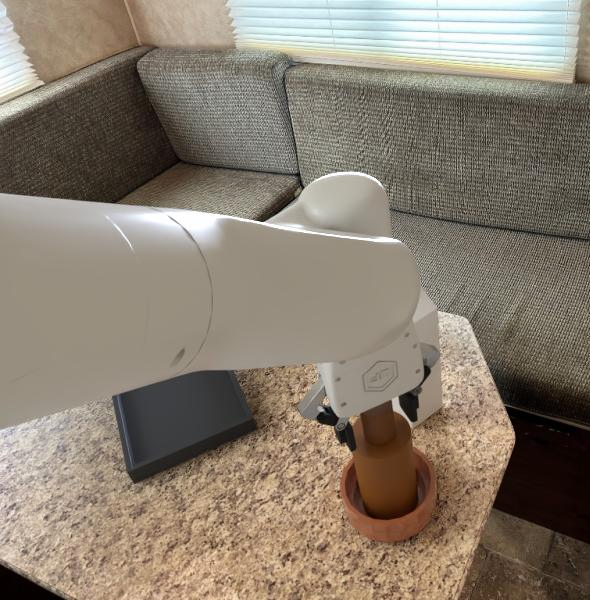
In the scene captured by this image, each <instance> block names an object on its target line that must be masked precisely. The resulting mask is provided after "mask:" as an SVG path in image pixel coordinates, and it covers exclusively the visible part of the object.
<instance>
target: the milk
mask: <svg viewBox="0 0 590 600" xmlns="http://www.w3.org/2000/svg"><path fill="white" fill-rule="evenodd" d="M413 321H414V325H415V328H416V332H417V336H418V340H419V342H422V343H426V344H430V345H433V346H435V347H436V348H437V349H438V351H439V352H440V353H441V348H440V346H441V345H440V330H439V329H440V328H439V311H438V306H437V304H435V303H434V302H433V300H432V299H431V297H430V296H429V295H428V294H427V293H426V291H425V290H424V289H423V287H422V280H421V279H420V296H419V301H418V305H417V308H416V311H415V313H414V316H413ZM421 388H422V392H421V393H420V394H419V395H418V399H419V408H418V409H417V417H418V421H416V422H414V423H413V422H411V421H410V420H409V418H408V417H407V416H406V414H405V413H404V411H403V410H402V409H401V407H400V405H399V397H395V398H393V399H391V400H392V406H393V411H395V412H397V413H399V414H401V415H402V416H403V417H405V418H406V420H407V421H408V423H409V425H410V427H411V430H414V429H415V428H416V427H418V426H419V425H420V424H422V423H423V422H424V421H426V420H427V419H429V418H430V417H432V415H434V414H435V413H436V412H438V411H439V410H441V408H443V406H444V400H443V384H442V365H441V356H440V357H439V359H438V360H437V362H436V363H435V365H434V366H433V367H431V373H430V375H429V376H428V377H427V379H426V380H425V381H424V383H423V384H422V385H421Z"/></svg>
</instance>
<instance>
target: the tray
mask: <svg viewBox="0 0 590 600" xmlns="http://www.w3.org/2000/svg"><path fill="white" fill-rule="evenodd" d="M111 400H112V404H113V410H114V416H115V419H116V424H117V430H118V435H119V439H120V445H121V450H122V455H123V460H124V465H125V469H126V474H127V475H128V477H129V478H130V480H131V482H132V483H133V485H135V484H137V483H139V482H142V481H145V480H146V479H149V478H151V477H154V476H156V475H159V474H160V473H162V472H164V471H167V470H169V469H171V468H174V467H176V466H178V465H180V464H183V463H185V462H188V461H189V460H192V459H195V458H196V457H199V456H201V455H203V454H205V453H208V452H210V451H213V450H215V449H217V448H219V447H221V446H224V445H226V444H228V443H231V442H233V441H236V440H237V439H240V438H242V437H244V436H246V435H249V434H251V433H253V432H256V431H258V430H259V426H258V425H257V422H256V419H255V416H254V414H253V411H252V410H251V408H250V405H249V403H248V400H247V398H246V396H245V394H244V391H243V390H242V387H241V385H240V382H239V380H238V378H237V376H236V373H235V370H203V371H196V372H191V373H187V374H184V375H180V376H177V377H174V378H170V379H167V380H164V381H160V382H157V383H153V384H150V385H147V386H144V387H140V388H137V389H134V390H130V391H127V392H124V393H120V394H117V395H114V396H111Z"/></svg>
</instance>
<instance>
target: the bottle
mask: <svg viewBox="0 0 590 600" xmlns="http://www.w3.org/2000/svg"><path fill="white" fill-rule="evenodd" d="M351 425H352V428H353V432H354V437H355V442H356V446H357V448H356V450H355V451H353V452H351V454H352V458H353V459H354V464H355V469H356V473H357V478H358V483H359V487H360V492H361V496H362V501H363V506H364V509H365V511H366V513H367V514H368V515H369V516H370V517H371V518H372V519H378V520H391V519H396V518H401V517H404V516H406V515H407V514H409V513H411V512H413V511H414V510H415V509H416V506H417V504H418V488H417V479H416V470H415V461H414V452H413V447H414V444H413V443H414V442H413V436H412V435H413V434H412V428H411V427H410V425H409V423H408V421H407V420H406V418H405V417H403V416H402V415H401V414H399V413H397V412H395V411H393V406H392V400H389V401H387V402H385V403H382V404H380V405H378V406H376V407H374V408H371V409H369V410H367V411H365V412H362V413H360V414H359V417H358V418H357V419H356V420H355V421H354V422H353V423H352V424H351Z"/></svg>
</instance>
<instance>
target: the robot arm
mask: <svg viewBox="0 0 590 600" xmlns="http://www.w3.org/2000/svg"><path fill="white" fill-rule="evenodd" d="M391 220H392V219H391V210H390V203H389V197H388V193H387V191H386V190H385V188H384V186H383V185H382V183H381V182H380V181H379V180H377V179H376V178H375V177H372V176H371V175H368V174H366V173H361V172H355V171H343V172H334V173H330V174H326V175H324V176H321V177H319V178H316V179H315V180H313V181H311V182H310V183H309V184H308V185H306V186H305V187H304V188H303V190H302V191H301V193H300V194H299V197H298V199H297V201H296V202H295V203H293V204H291V205H290V206H289V207H287V208H285V209H284V210H282V211H280V212H279V213H277V214H275V215H274V216H271V217H270V218H269V219H267V220H265V221H263V222H261V221H257V220H253V219H248V218H247V219H246V218H241V217H236V216H230V215H225V214H219V213H210V212H204V211H200V210H199V211H197V210H191V209H183V208H176V207H172V208H171V207H157V206H149V205H148V206H147V205H131V204H121V203H120V204H119V203H109V202H101V201H100V202H99V201H98V202H97V201H88V200H77V199H67V198H54V197H47V196H46V197H45V196H34V195H33V196H32V195H22V194H14V193H13V194H11V193H2V192H0V431H1V430H5V429H8V428H12V427H15V426H19V425H23V424H25V423H29V422H32V421H36V420H39V419H42V418H45V417H49V416H51V415H52V416H53V415H55V414H58V413H61V412H65V411H69V410H72V409H75V408H78V407H81V406H85V405H88V404H91V403H94V402H97V401H101V400H104V399H107V398H110V397H111V398H112V396H114V395H117V394H120V393H124V392H127V391H130V390H134V389H137V388H140V387H144V386H147V385H150V384H153V383H157V382H160V381H164V380H167V379H170V378H174V377H177V376H180V375H184V374H187V373H191V372H196V371H203V370H233V371H242V370H255V369H266V368H276V367H287V366H289V367H290V366H301V365H315V366H316V372H317V377H318V378H317V380H316V381H315V382H314V383H313V385H312V386H311V388H310V389H309V390H308V391H307V393H306V394H305V395H304V396H303V398H302V399H301V400H300V401H299V403H298V404H297V406H296V409H297V410H298V413H299V414H300V416H301V418H303V419H306V420H310V421H316V422H317V423H318V424H321V425H323V426H328V427H333V431H334V434H335V436H336V439H337V441H338V443H339V445H343V444H345V445H346V446H347V448H348V450H349V452H350V453H352V452H353V451H355V450H356V448H357V446H356V442H355V437H354V432H353V428H352V425H353V424H351V422H350V418H352V417H355V416H357V415H360V413H362V412H365V411H367V410H369V409H371V408H374V407H376V406H378V405H380V404H382V403H385V402H387V401H389V400H391V399H393V398H395V397H399V405H400V407H401V409H402V410H403V411H404V413H405V414H406V416H407V417H408V418H409V420H410V421H411V422H413V423H414V422H416V421H418V417H417V409H418V408H419V399H418V395H419V394H420V393H421V392H422V388H421V385H422V384H423V383H424V381H425V380H426V379H427V377H428V376H429V375H430V373H431V367H433V366H434V365H435V363H436V362H437V360H438V359H439V357H440V358H441V356H442V353H441V351H440V352H439V351H438V349H437V348H436V347H435V346H433V345H430V344H426V343H422V342H419V340H418V336H417V332H416V328H415V325H414V321H413V316H414V313H415V311H416V308H417V305H418V301H419V296H420V280H421V273H420V269H419V265H418V262H417V260H416V258H415V255H414V254H413V252H412V251H411V249H410V248H409V247H408V246H407V245H406V244H405V243H404V242H403V241H401V240H399V239H396V238H393V228H392V221H391ZM326 398H327V401H328V403H327V405H326V404H325V405H324V404H322V403H323V402H324V400H325V399H326Z"/></svg>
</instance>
